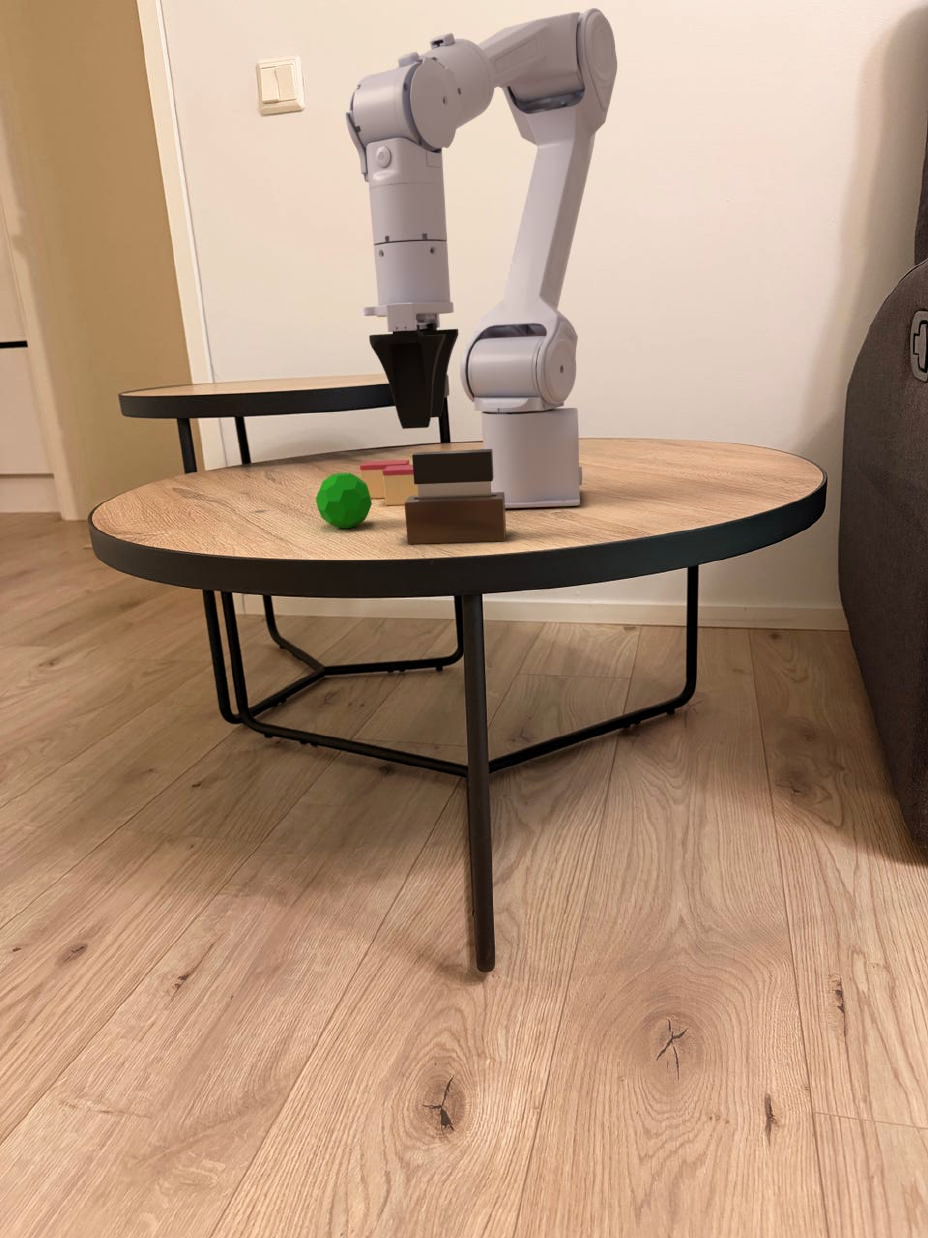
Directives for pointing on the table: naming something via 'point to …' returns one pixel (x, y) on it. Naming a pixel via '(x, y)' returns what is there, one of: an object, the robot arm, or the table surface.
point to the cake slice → (377, 475)
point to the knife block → (455, 519)
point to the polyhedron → (343, 500)
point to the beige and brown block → (453, 473)
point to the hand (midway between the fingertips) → (422, 422)
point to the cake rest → (399, 484)
